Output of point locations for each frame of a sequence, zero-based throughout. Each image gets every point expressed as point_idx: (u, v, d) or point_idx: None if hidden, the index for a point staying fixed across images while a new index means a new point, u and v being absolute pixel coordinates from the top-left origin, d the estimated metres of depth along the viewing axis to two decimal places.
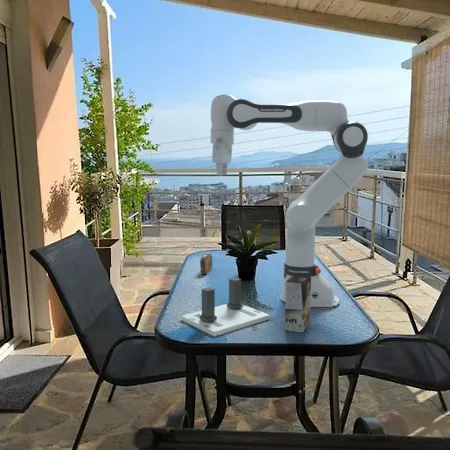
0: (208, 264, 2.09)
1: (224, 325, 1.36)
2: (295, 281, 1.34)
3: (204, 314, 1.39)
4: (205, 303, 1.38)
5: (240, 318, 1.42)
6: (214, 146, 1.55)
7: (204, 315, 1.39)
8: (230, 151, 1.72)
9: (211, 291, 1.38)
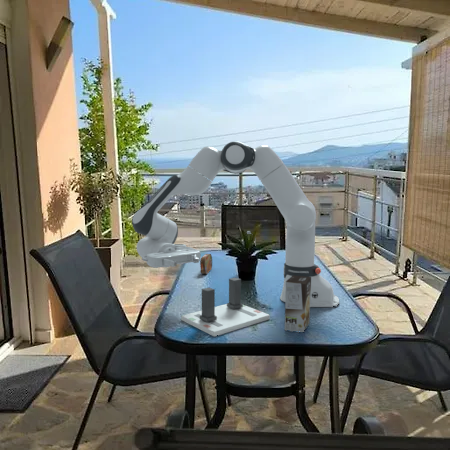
0: (208, 264, 2.09)
1: (224, 325, 1.36)
2: (295, 281, 1.34)
3: (204, 314, 1.39)
4: (205, 303, 1.38)
5: (240, 318, 1.42)
6: None
7: (204, 315, 1.39)
8: (189, 249, 1.59)
9: (211, 291, 1.38)
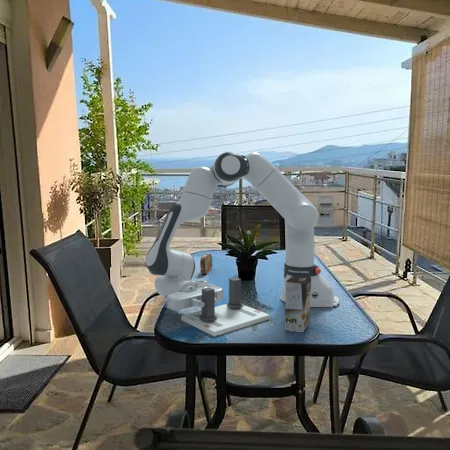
0: (208, 264, 2.09)
1: (224, 325, 1.36)
2: (295, 281, 1.34)
3: (204, 314, 1.39)
4: None
5: (240, 318, 1.42)
6: (167, 303, 1.41)
7: (204, 315, 1.39)
8: (211, 286, 1.50)
9: (211, 291, 1.38)
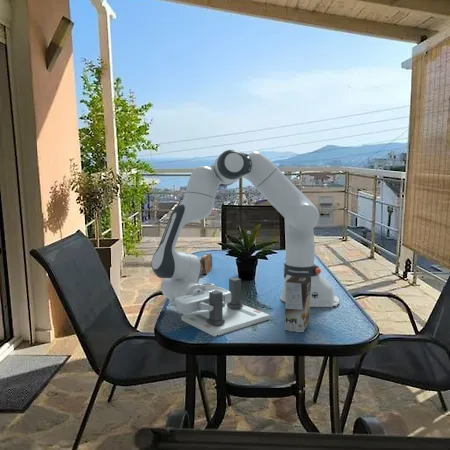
0: (208, 264, 2.09)
1: (224, 325, 1.36)
2: (295, 281, 1.34)
3: (211, 317, 1.36)
4: None
5: (240, 318, 1.42)
6: (174, 307, 1.38)
7: (212, 319, 1.36)
8: (219, 289, 1.47)
9: (219, 294, 1.35)
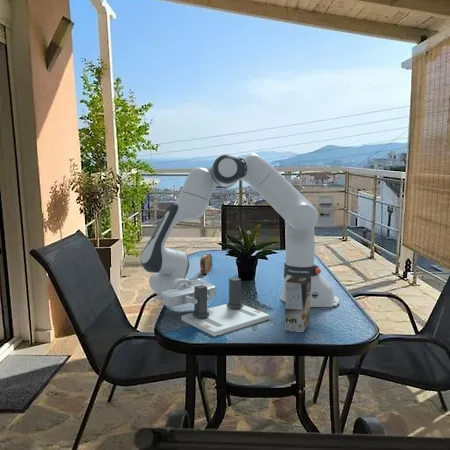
0: (208, 264, 2.09)
1: (224, 325, 1.36)
2: (295, 281, 1.34)
3: (196, 310, 1.42)
4: None
5: (240, 318, 1.42)
6: (161, 300, 1.44)
7: (197, 312, 1.42)
8: (204, 284, 1.53)
9: (203, 288, 1.41)
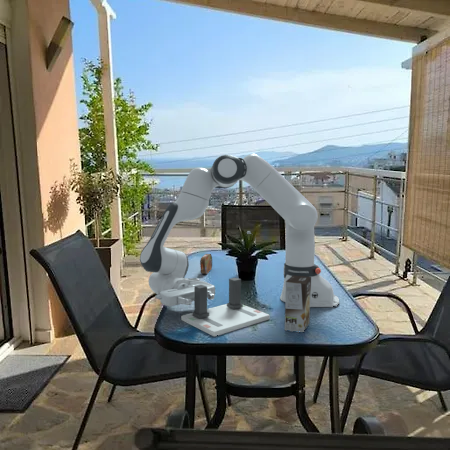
0: (208, 264, 2.09)
1: (224, 325, 1.36)
2: (295, 281, 1.34)
3: (196, 310, 1.42)
4: (198, 300, 1.41)
5: (240, 318, 1.42)
6: (160, 300, 1.44)
7: (197, 312, 1.42)
8: (203, 284, 1.54)
9: (203, 288, 1.41)
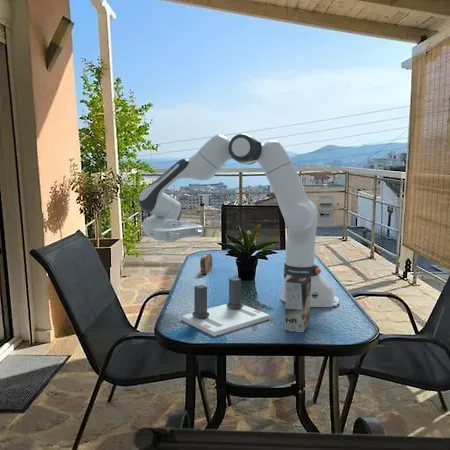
0: (208, 264, 2.09)
1: (224, 325, 1.36)
2: (295, 281, 1.34)
3: (196, 310, 1.42)
4: (198, 300, 1.41)
5: (240, 318, 1.42)
6: (152, 236, 1.57)
7: (197, 312, 1.42)
8: (192, 224, 1.67)
9: (203, 288, 1.41)
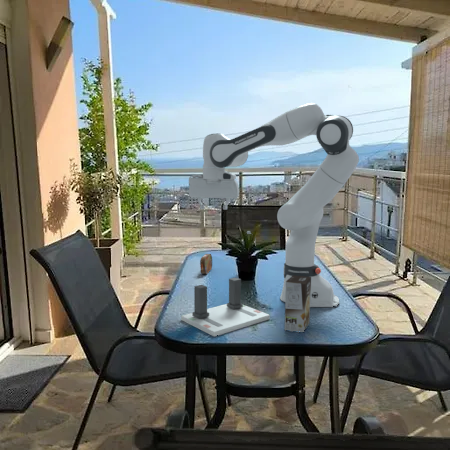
0: (208, 264, 2.09)
1: (224, 325, 1.36)
2: (295, 281, 1.34)
3: (196, 310, 1.42)
4: (198, 300, 1.41)
5: (240, 318, 1.42)
6: None
7: (197, 312, 1.42)
8: (232, 186, 1.69)
9: (203, 288, 1.41)
